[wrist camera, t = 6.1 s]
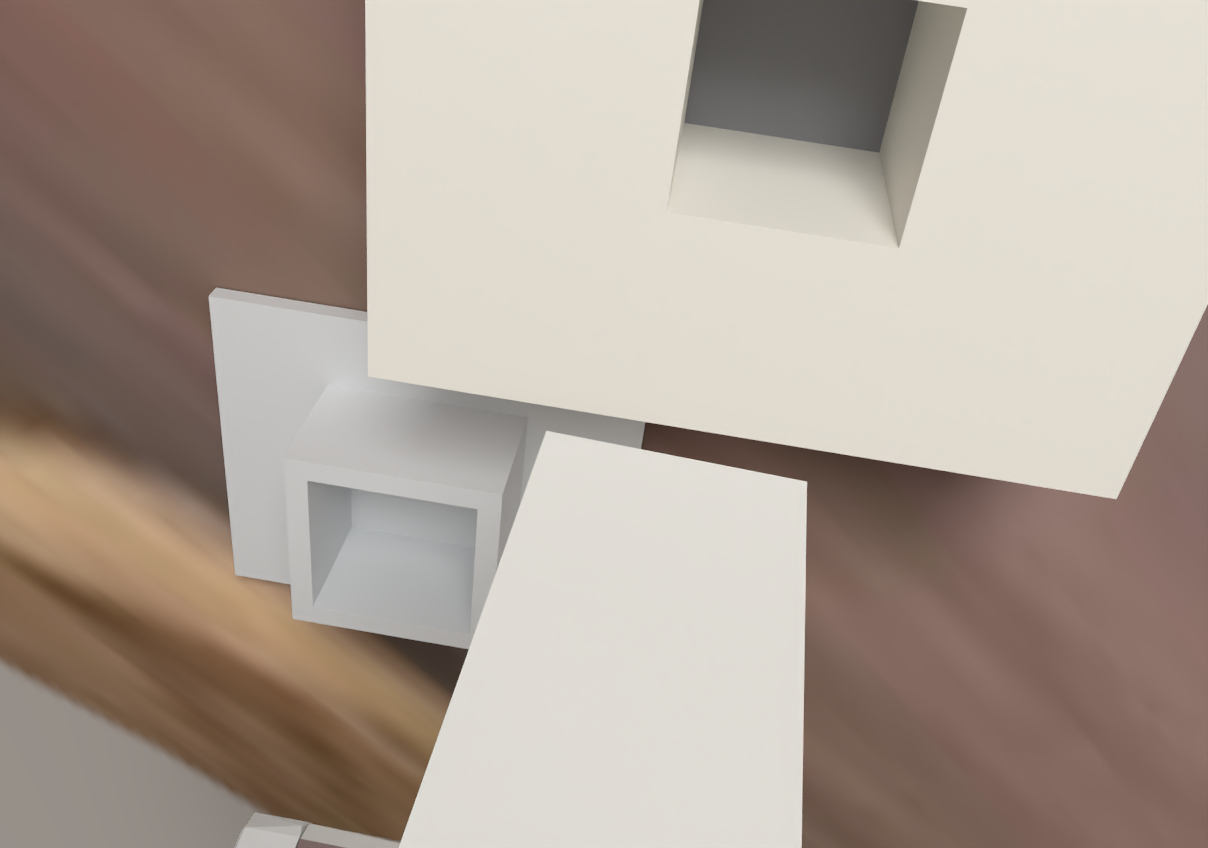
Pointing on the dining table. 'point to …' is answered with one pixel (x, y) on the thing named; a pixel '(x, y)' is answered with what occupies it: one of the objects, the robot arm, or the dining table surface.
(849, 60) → the port
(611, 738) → the plug
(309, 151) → the dining table surface
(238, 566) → the holster
